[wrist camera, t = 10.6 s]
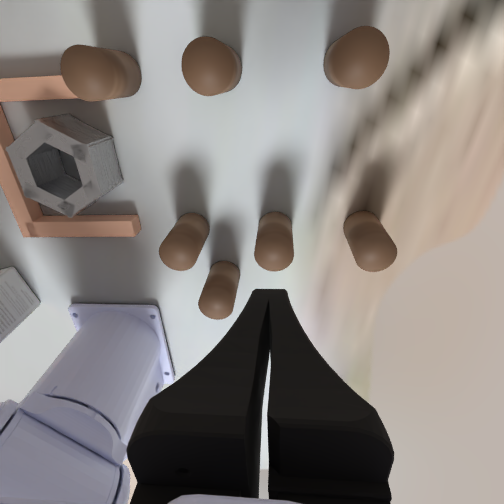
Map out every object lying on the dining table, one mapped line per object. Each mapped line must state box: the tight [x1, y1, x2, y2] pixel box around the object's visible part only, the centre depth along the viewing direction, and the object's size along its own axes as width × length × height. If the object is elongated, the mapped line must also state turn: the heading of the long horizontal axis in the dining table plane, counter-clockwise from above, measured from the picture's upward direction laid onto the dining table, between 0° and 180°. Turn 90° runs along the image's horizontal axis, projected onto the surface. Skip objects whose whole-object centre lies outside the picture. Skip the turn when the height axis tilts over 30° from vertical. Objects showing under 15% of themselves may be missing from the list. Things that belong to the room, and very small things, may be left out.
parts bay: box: [0, 75, 141, 237], centre depth 21 cm, size 10×9×1 cm
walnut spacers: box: [60, 26, 397, 319], centre depth 19 cm, size 20×18×4 cm
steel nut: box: [5, 114, 123, 218], centre depth 20 cm, size 6×5×3 cm
